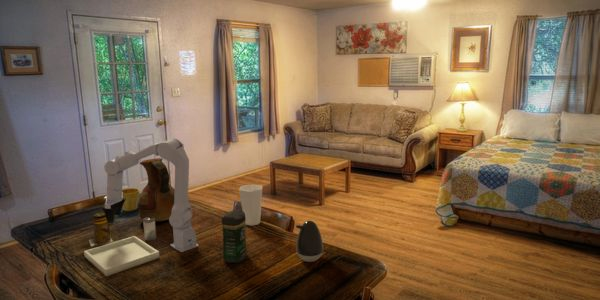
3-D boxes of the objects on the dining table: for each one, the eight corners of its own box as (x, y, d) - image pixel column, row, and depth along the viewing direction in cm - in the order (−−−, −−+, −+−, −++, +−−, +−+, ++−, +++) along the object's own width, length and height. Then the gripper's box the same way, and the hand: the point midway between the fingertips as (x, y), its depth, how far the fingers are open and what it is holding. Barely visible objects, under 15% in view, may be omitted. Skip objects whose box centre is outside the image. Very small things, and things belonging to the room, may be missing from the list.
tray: (159, 257, 161) (158, 251, 161) (106, 276, 147) (105, 269, 147) (135, 241, 176) (134, 235, 176) (84, 257, 163) (84, 251, 162)
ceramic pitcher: (165, 209, 215) (160, 152, 209) (191, 217, 203) (186, 157, 197) (131, 221, 199) (124, 160, 193) (156, 230, 188) (150, 165, 182)
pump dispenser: (291, 255, 161) (291, 218, 158) (316, 251, 165) (316, 214, 161) (301, 267, 152) (301, 228, 148) (327, 262, 155) (327, 223, 152)
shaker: (158, 238, 179) (156, 218, 177) (147, 241, 176) (145, 221, 174) (153, 235, 182) (151, 215, 181) (142, 238, 179) (140, 218, 177)
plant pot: (144, 208, 217) (142, 190, 215) (125, 213, 209) (123, 195, 207) (135, 204, 224) (133, 186, 222) (116, 209, 216) (114, 191, 214)
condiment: (113, 241, 176) (110, 215, 174) (91, 246, 172) (87, 219, 169) (110, 236, 182) (107, 210, 180) (88, 240, 178) (85, 214, 175)
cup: (268, 221, 196) (267, 186, 193) (255, 228, 188) (253, 192, 184) (250, 217, 202) (248, 183, 199) (236, 224, 194) (234, 188, 190)
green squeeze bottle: (239, 265, 154) (237, 217, 150) (220, 262, 156) (217, 215, 152) (250, 254, 163) (248, 208, 159) (232, 251, 165) (229, 207, 161)
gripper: (111, 181, 177) (110, 211, 180) (97, 192, 163) (96, 224, 166) (128, 183, 178) (127, 212, 181) (115, 194, 164) (114, 226, 167)
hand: (113, 218), depth 173 cm, fingers open, 7 cm apart
